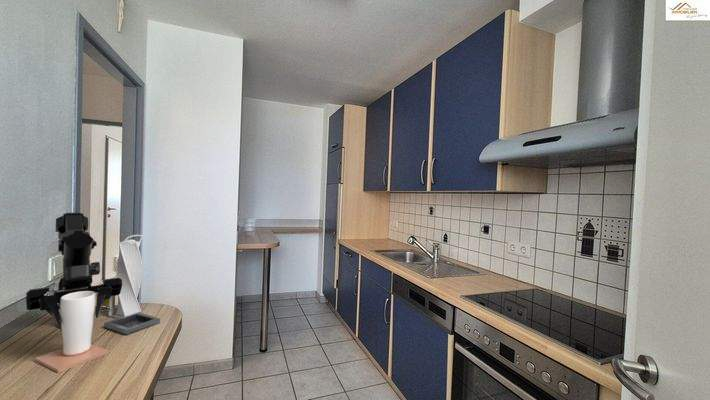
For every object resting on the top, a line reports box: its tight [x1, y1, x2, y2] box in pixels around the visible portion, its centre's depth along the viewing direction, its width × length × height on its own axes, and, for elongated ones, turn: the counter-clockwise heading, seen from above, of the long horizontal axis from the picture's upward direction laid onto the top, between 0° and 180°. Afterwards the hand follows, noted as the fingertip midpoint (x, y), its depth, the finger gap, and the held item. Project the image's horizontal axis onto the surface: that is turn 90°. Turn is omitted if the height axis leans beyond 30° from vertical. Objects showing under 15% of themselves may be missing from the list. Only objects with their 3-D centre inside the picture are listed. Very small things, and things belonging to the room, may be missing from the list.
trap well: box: [103, 312, 161, 336], centre depth 96 cm, size 12×10×2 cm
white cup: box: [59, 291, 96, 356], centre depth 78 cm, size 7×7×15 cm
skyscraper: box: [106, 234, 144, 319], centre depth 105 cm, size 8×8×28 cm
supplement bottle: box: [95, 282, 110, 313], centre depth 109 cm, size 5×5×10 cm
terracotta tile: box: [34, 343, 109, 374], centre depth 77 cm, size 12×10×1 cm
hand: (78, 320), depth 76 cm, fingers open, 7 cm apart
